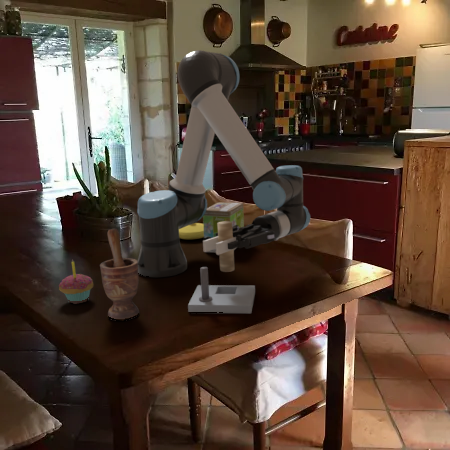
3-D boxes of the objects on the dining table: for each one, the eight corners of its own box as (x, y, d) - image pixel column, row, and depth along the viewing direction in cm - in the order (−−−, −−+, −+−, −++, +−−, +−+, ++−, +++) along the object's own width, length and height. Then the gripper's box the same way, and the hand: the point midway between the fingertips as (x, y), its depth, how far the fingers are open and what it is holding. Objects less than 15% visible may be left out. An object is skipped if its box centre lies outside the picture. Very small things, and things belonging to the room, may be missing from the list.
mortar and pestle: (94, 311, 118) (85, 232, 113) (125, 301, 123) (118, 225, 119) (115, 325, 109) (106, 241, 105) (148, 314, 115) (141, 233, 110)
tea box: (231, 254, 159) (230, 210, 156) (203, 252, 163) (201, 209, 159) (245, 242, 173) (243, 201, 170) (218, 240, 176) (217, 201, 173)
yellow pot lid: (221, 236, 182) (221, 218, 181) (188, 245, 172) (186, 226, 171) (197, 230, 194) (195, 213, 192) (164, 237, 184) (162, 220, 183)
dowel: (219, 271, 119) (216, 224, 116) (221, 267, 123) (218, 221, 120) (233, 271, 119) (231, 224, 116) (235, 267, 122) (232, 221, 119)
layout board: (188, 312, 115) (185, 272, 112) (198, 292, 127) (196, 256, 125) (251, 313, 113) (249, 272, 110) (255, 292, 125) (253, 255, 123)
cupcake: (95, 304, 122) (90, 259, 119) (60, 309, 120) (54, 264, 117) (94, 293, 130) (89, 250, 127) (61, 297, 128) (55, 254, 125)
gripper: (295, 244, 127) (237, 268, 110) (247, 236, 138) (187, 257, 122) (294, 217, 125) (235, 237, 109) (246, 211, 136) (185, 228, 120)
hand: (210, 247), depth 115 cm, fingers closed on dowel, 3 cm apart
